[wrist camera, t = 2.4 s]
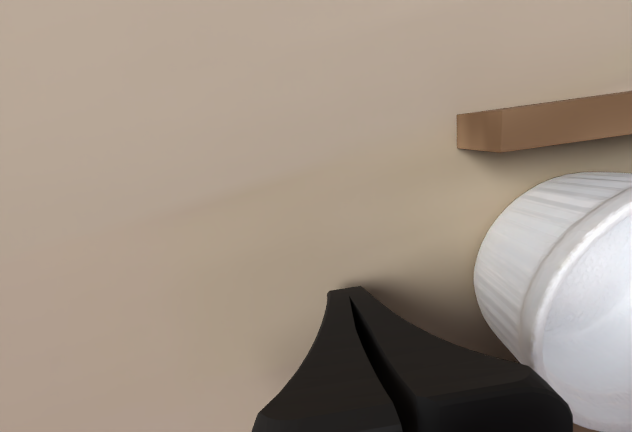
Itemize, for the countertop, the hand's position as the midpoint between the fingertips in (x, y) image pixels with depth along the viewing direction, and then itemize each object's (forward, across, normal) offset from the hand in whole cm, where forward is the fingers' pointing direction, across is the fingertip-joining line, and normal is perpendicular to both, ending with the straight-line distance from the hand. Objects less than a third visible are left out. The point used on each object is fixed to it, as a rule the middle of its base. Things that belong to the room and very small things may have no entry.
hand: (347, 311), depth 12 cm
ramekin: (+1, -9, 0) cm, 10 cm away
